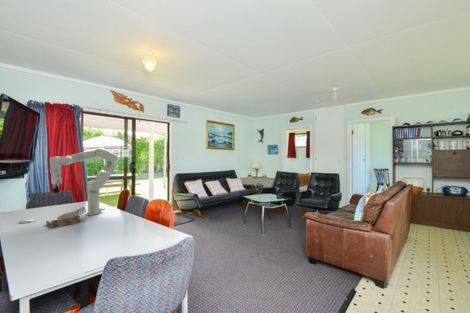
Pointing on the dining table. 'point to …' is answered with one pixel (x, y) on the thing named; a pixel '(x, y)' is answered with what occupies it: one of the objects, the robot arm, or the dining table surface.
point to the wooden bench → (63, 221)
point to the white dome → (27, 220)
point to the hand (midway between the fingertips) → (56, 192)
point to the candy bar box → (73, 213)
